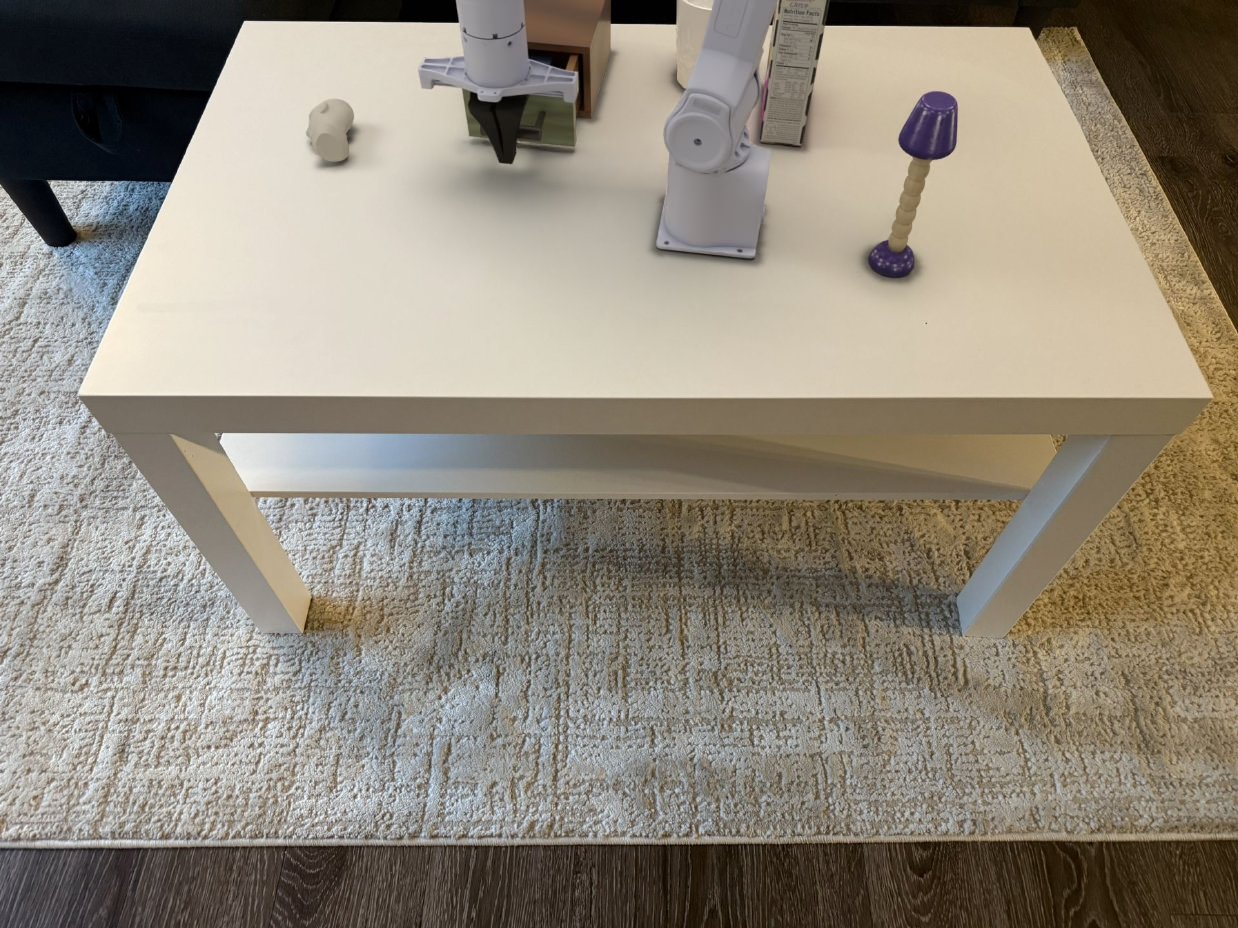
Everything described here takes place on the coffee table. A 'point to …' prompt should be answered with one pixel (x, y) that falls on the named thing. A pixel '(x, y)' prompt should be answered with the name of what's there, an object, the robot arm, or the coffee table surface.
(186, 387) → the coffee table surface
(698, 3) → the white cup
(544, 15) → the cabinet
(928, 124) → the toy lamp
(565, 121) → the drawer
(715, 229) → the robot arm
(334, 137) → the pale two-lobed sculpture
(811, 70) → the candy bar box
